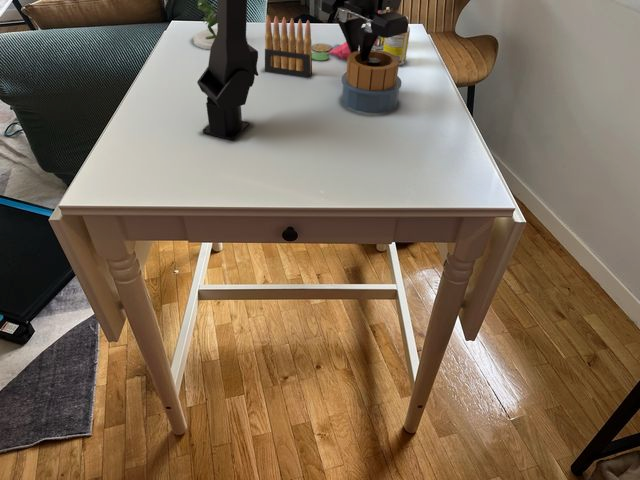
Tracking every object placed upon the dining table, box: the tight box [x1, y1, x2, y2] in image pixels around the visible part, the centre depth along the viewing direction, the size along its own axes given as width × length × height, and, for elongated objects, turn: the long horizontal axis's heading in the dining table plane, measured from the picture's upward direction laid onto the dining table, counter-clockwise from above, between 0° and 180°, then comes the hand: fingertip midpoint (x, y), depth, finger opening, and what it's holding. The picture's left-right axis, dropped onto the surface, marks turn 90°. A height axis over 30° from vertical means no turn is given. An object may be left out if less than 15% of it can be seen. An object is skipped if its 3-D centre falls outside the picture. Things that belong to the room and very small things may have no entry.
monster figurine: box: [192, 0, 217, 50], centre depth 119 cm, size 12×12×10 cm
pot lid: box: [341, 58, 403, 96], centre depth 96 cm, size 12×12×5 cm
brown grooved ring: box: [346, 49, 400, 91], centre depth 95 cm, size 10×10×4 cm
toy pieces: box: [311, 41, 351, 62], centre depth 117 cm, size 12×11×4 cm
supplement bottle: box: [382, 15, 411, 66], centre depth 113 cm, size 6×6×10 cm
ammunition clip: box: [264, 14, 313, 79], centre depth 106 cm, size 11×2×12 cm, turn 75°
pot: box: [341, 84, 400, 114], centre depth 99 cm, size 11×11×4 cm
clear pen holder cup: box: [372, 7, 399, 50], centre depth 119 cm, size 7×7×15 cm
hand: (359, 58), depth 97 cm, fingers closed
